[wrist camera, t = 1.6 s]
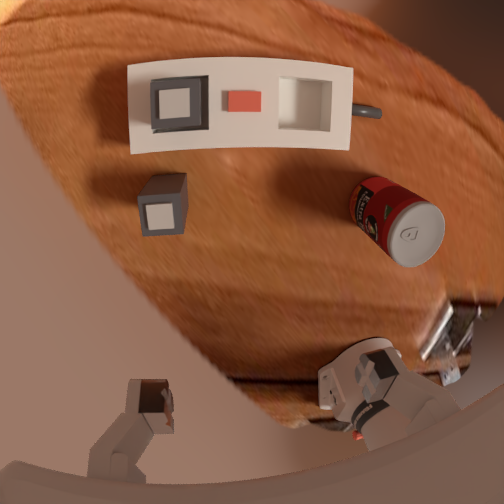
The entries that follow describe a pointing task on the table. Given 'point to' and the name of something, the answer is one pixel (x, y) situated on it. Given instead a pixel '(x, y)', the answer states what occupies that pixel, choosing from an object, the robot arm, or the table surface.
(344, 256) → the table surface
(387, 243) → the canned food
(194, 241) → the table surface
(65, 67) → the table surface
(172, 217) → the plug
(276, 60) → the pdu strip
